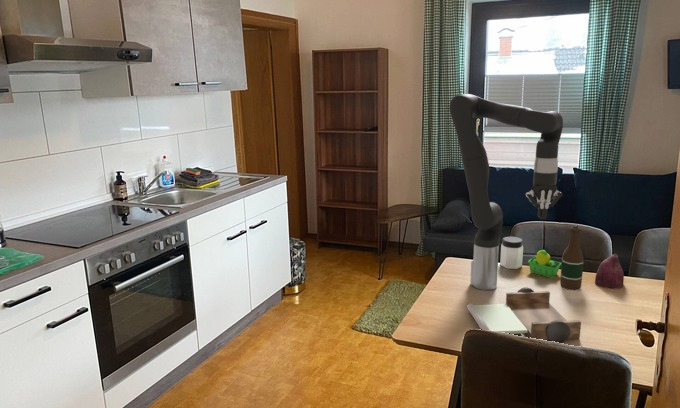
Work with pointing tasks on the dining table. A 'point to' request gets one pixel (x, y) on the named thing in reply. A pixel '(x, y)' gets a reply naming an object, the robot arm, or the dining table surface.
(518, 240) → the jar
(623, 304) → the dining table surface
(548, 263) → the fruit basket
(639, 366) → the dining table surface
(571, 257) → the beer bottle
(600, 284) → the vegetable
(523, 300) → the cart bed
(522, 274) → the dining table surface
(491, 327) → the tailgate
